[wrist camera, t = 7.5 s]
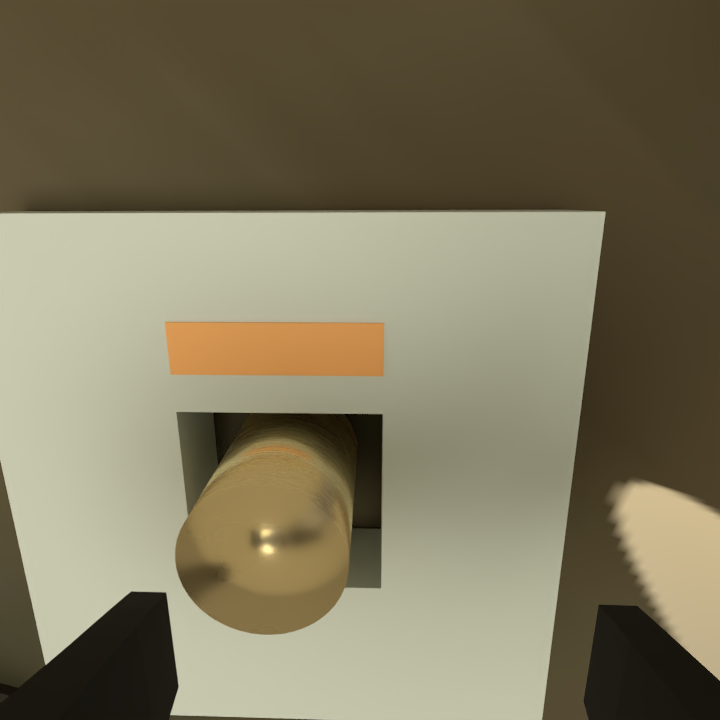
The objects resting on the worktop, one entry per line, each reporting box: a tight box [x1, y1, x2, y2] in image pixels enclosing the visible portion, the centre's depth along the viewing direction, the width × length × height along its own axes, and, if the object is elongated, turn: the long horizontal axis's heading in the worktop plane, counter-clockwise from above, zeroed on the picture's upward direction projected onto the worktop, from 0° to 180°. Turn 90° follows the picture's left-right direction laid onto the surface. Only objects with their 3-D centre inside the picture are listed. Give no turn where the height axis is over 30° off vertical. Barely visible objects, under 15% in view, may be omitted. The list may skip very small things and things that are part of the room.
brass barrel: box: [175, 413, 358, 635], centre depth 15 cm, size 4×4×6 cm
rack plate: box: [0, 210, 605, 720], centre depth 16 cm, size 16×16×3 cm
